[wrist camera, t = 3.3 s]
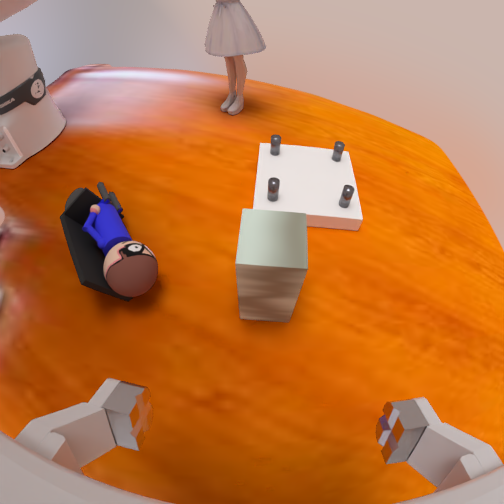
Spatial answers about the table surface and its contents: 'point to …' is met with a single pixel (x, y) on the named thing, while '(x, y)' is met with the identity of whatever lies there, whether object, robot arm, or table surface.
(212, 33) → the figurine
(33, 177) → the table surface
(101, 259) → the character figurine
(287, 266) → the sage block
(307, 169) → the display base
